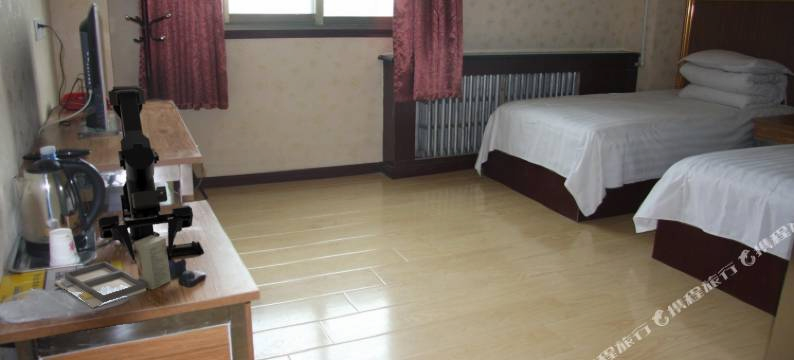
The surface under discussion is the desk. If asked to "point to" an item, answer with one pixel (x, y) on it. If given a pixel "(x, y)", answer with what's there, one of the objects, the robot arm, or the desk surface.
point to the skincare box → (152, 261)
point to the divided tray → (100, 283)
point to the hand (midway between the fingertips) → (152, 257)
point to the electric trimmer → (186, 249)
